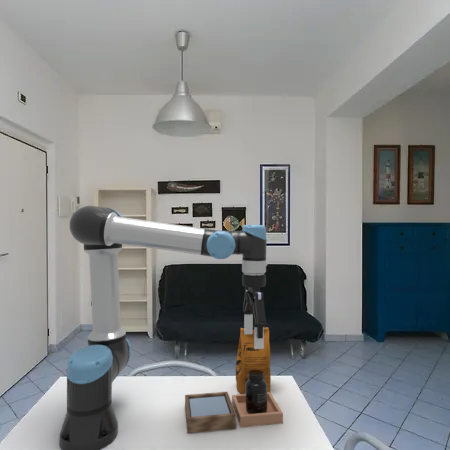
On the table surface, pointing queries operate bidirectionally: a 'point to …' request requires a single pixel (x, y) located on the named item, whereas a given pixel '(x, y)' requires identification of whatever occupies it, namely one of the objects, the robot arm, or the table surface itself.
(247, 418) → the tray
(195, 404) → the pad
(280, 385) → the table surface
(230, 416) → the wooden frame
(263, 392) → the supplement bottle
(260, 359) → the coffee package
